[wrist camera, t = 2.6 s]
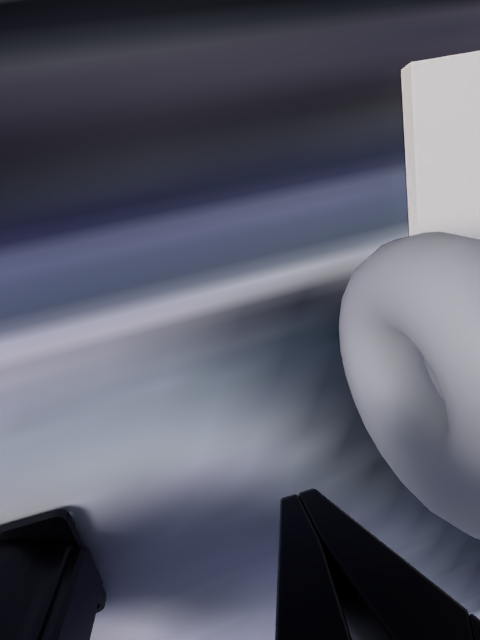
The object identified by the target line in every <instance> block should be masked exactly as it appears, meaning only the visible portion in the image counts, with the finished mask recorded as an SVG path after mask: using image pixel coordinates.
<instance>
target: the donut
mask: <svg viewBox="0 0 480 640" xmlns="http://www.w3.org/2000/svg"><path fill="white" fill-rule="evenodd" d="M339 335H340V350H341V355H342V360H343V365H344V370H345V375H346V378H347V381H348V384H349V387H350V390H351V393H352V396H353V400H354V402H355V405H356V407H357V409H358V411H359V414H360V416H361V418H362V420H363V423H364V425H365V427H366V429H367V431H368V433H369V434H370V436H371V438H372V440H373V441H374V443H375V445H376V446H377V448H378V450H379V452H380V453H381V455H382V456H383V458H384V459H385V460H386V462H387V463H388V464H389V466H390V467H391V468H392V470H393V471H394V472H395V474H396V475H397V477H398V478H399V479H400V480H401V482H402V483H403V484H404V485H405V486H406V487H407V488H408V489H409V490H410V491H411V492H412V493H413V494H414V495H415V496H416V497H417V498H418V499H419V500H420V501H421V502H422V503H423V504H424V505H425V506H426V507H427V508H428V509H429V510H430V511H431V512H433V513H434V514H436V515H438V516H439V517H441V518H442V519H444V520H446V521H447V522H449V523H450V524H452V525H454V526H455V527H457V528H458V529H460V530H462V531H464V532H465V533H467V534H469V535H470V536H472V537H474V538H476V539H480V240H479V239H474V238H469V237H464V236H459V235H454V234H450V233H445V232H427V233H421V234H417V235H413V236H409V237H404V238H400V239H396V240H393V241H391V242H388V243H386V244H384V245H381V246H380V247H379V248H378V249H377V250H376V251H375V252H374V253H373V254H372V255H370V256H369V257H368V258H367V259H366V260H365V261H364V262H363V263H362V264H361V265H360V266H358V267H357V268H356V269H355V271H354V273H353V275H352V277H351V278H350V281H349V283H348V285H347V288H346V290H345V292H344V295H343V297H342V302H341V310H340V319H339ZM424 358H425V360H426V362H427V363H428V365H429V367H430V368H431V370H432V372H433V373H434V375H435V378H436V380H437V383H438V386H439V388H440V391H441V393H442V396H443V398H442V397H441V396H440V394H439V392H438V390H437V389H436V387H435V385H434V383H433V382H432V380H431V378H430V375H429V373H428V370H427V367H426V365H425V362H424Z"/></svg>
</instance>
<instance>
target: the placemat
mask: <svg viewBox="0 0 480 640" xmlns="http://www.w3.org/2000/svg"><path fill="white" fill-rule="evenodd" d="M401 83H402V102H403V121H404V141H405V160H406V179H407V199H408V218H409V236H413V235H417V234H421V233H427V232H445V233H450V234H454V235H459V236H464V237H469V238H474V239H479V240H480V51H474V52H468V53H462V54H456V55H450V56H444V57H439V58H433V59H427V60H421V61H415V62H410V63H409V64H408V65H406V66H405V67H404V68H402V69H401ZM424 362H425V365H426V367H427V370H428V373H429V375H430V378H431V380H432V382H433V383H434V385H435V387H436V389H437V390H438V392H439V394H440V396H441V397H442V398H443V396H442V393H441V391H440V388H439V386H438V383H437V380H436V378H435V375H434V373H433V372H432V370H431V368H430V367H429V365H428V363H427V362H426V360H425V358H424Z"/></svg>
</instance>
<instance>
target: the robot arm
mask: <svg viewBox="0 0 480 640" xmlns="http://www.w3.org/2000/svg"><path fill="white" fill-rule="evenodd" d="M56 521H59V522H60V523H58V522H56ZM102 585H103V581H102V579H101V577H100V575H99V572H98V570H97V568H96V566H95V563H94V561H93V559H92V557H91V555H90V552H89V550H88V548H87V547H86V546H84V544H83V542H82V540H81V538H80V535H79V533H78V531H77V529H76V527H75V524H74V522H73V520H72V518H71V516H70V514H69V513H68V512H67V511H65V510H55V511H52V512H48V513H45V514H42V515H38V516H35V517H31V518H28V519H24V520H21V521H17V522H14V523H11V524H7V525H4V526H0V640H90V636H91V632H92V627H93V623H94V619H95V615H96V613H98V612H100V611H101V610H102V609H103V608H104V606H105V602H106V598H107V597H106V593H105V591H104V589H103V586H102ZM275 640H480V620H479V619H478V618H477V617H476V616H474V615H473V614H470V615H469V614H468V611H467V610H466V609H465V608H464V607H463V606H462V605H460V604H459V603H458V602H457V601H455V600H454V599H453V598H452V597H450V596H449V595H448V594H447V593H445V592H444V591H443V590H441V589H440V588H439V587H438V586H436V585H435V584H434V583H433V582H431V581H430V580H429V579H428V578H426V577H425V576H424V575H423V574H421V573H420V572H419V571H418V570H416V569H415V568H414V567H413V566H411V565H410V564H409V563H408V562H406V561H405V560H404V559H403V558H401V557H400V556H399V555H398V554H396V553H395V552H394V551H393V550H391V549H390V548H389V547H387V546H386V545H385V544H384V543H382V542H381V541H380V540H379V539H377V538H376V537H375V536H374V535H372V534H371V533H370V532H369V531H367V530H366V529H365V528H364V527H362V526H361V525H360V524H359V523H357V522H356V521H355V520H354V519H352V518H351V517H350V516H349V515H347V514H346V513H345V512H344V511H342V510H341V509H340V508H339V507H337V506H336V505H335V504H333V503H332V502H331V501H330V500H328V499H327V498H326V497H325V496H323V495H322V494H321V493H320V492H318V491H317V490H316V489H310V490H307V491H303V492H300V493H299V494H298V496H297V495H296V494H294V495H290V496H287V497H284V498H282V499H281V501H280V521H279V549H278V577H277V605H276V633H275Z"/></svg>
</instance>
